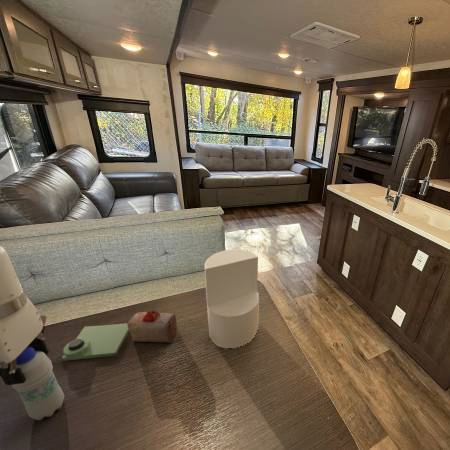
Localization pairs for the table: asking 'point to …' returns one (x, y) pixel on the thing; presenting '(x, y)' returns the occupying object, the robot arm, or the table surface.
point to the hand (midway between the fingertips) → (28, 367)
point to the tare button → (76, 344)
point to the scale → (98, 342)
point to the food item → (153, 327)
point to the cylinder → (232, 297)
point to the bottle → (38, 384)
